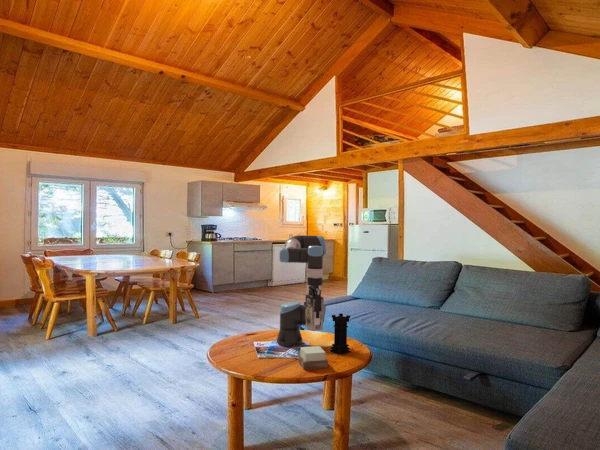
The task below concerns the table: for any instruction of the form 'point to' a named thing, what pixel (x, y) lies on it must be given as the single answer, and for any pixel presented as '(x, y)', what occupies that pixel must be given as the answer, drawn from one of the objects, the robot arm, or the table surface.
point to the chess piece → (340, 335)
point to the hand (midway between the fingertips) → (314, 322)
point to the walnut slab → (312, 364)
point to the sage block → (312, 353)
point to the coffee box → (312, 313)
